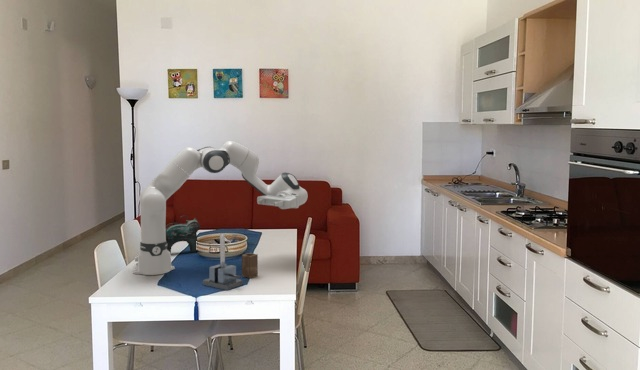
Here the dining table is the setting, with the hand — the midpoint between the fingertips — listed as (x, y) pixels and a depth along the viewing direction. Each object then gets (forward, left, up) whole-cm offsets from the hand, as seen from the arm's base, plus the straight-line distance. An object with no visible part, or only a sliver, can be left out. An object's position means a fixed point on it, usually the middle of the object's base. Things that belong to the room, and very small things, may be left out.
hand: (266, 203), depth 263 cm
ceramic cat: (-50, -28, -32) cm, 66 cm away
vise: (+14, -25, -32) cm, 43 cm away
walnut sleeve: (+6, -11, -32) cm, 34 cm away
